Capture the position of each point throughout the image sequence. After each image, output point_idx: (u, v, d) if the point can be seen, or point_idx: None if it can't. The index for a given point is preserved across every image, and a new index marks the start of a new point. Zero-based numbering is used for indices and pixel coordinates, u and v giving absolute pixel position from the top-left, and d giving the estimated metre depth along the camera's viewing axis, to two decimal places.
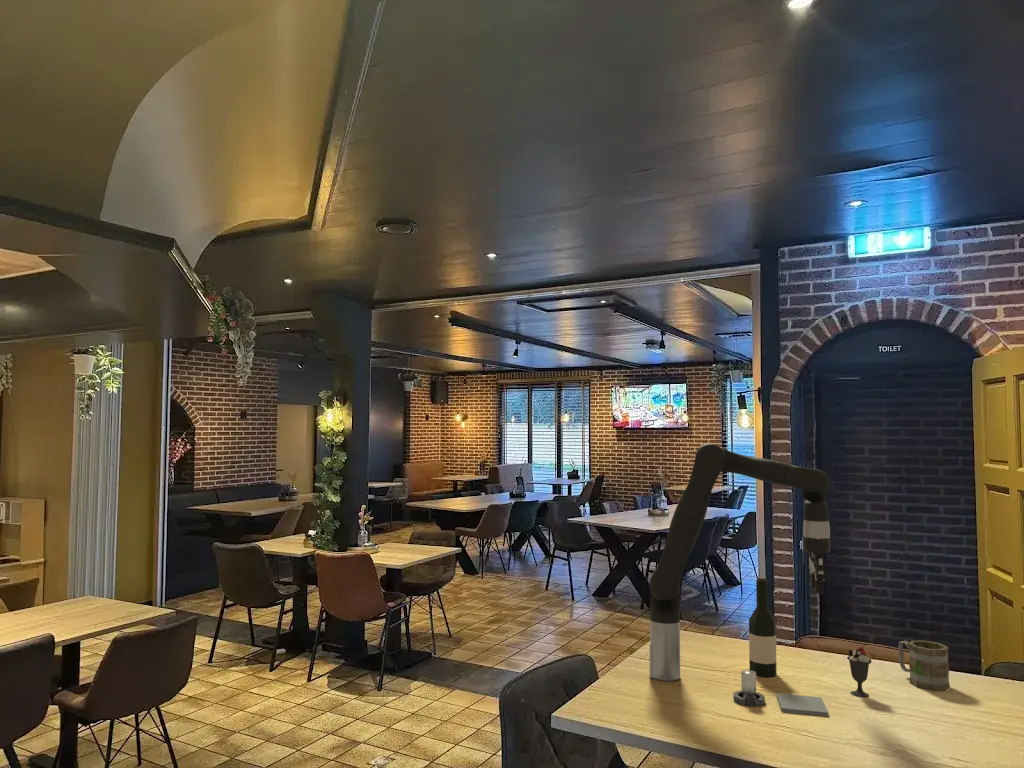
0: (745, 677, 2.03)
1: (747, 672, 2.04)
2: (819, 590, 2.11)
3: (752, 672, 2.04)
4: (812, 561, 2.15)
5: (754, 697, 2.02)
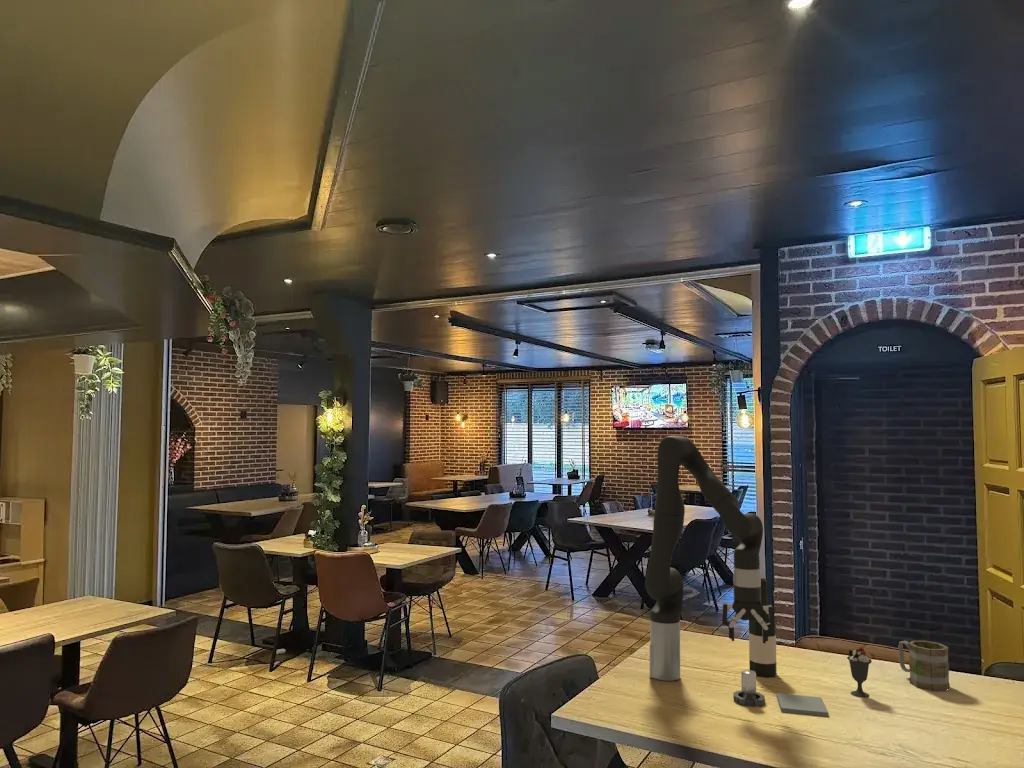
0: (745, 677, 2.03)
1: (747, 672, 2.04)
2: None
3: (752, 672, 2.04)
4: (756, 611, 2.04)
5: (754, 697, 2.02)
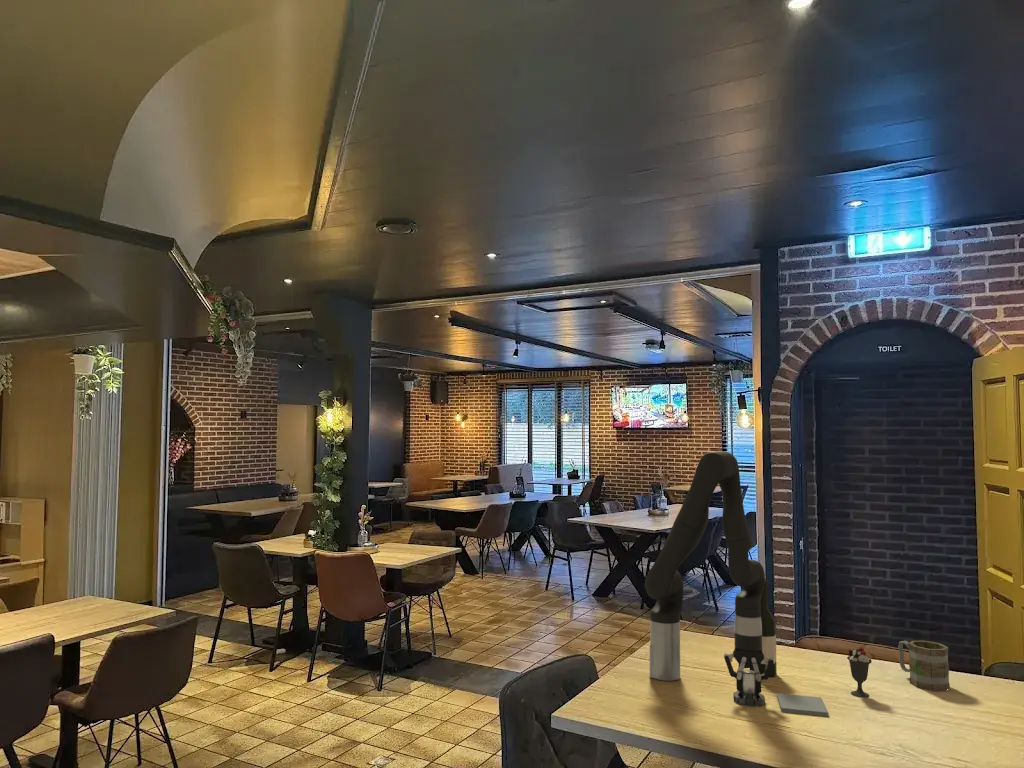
0: (745, 677, 2.03)
1: (747, 672, 2.04)
2: None
3: (752, 672, 2.04)
4: (756, 661, 2.03)
5: (754, 697, 2.02)
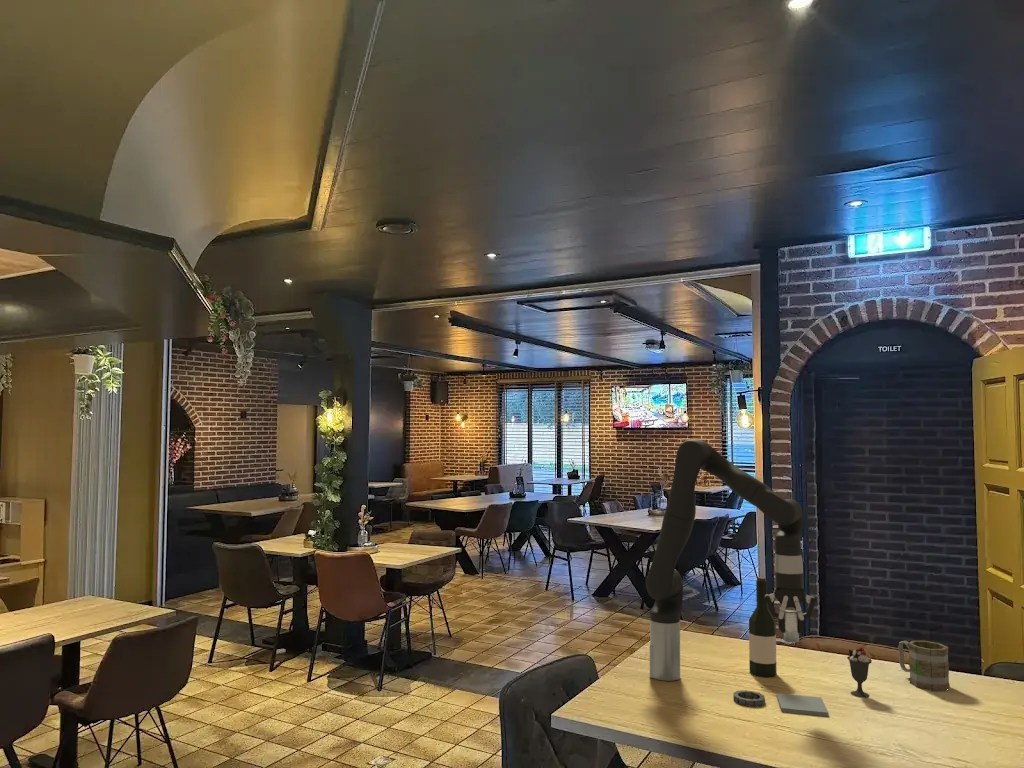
0: (787, 616, 2.01)
1: (789, 611, 2.02)
2: None
3: (794, 611, 2.02)
4: (798, 599, 2.01)
5: (797, 636, 2.00)
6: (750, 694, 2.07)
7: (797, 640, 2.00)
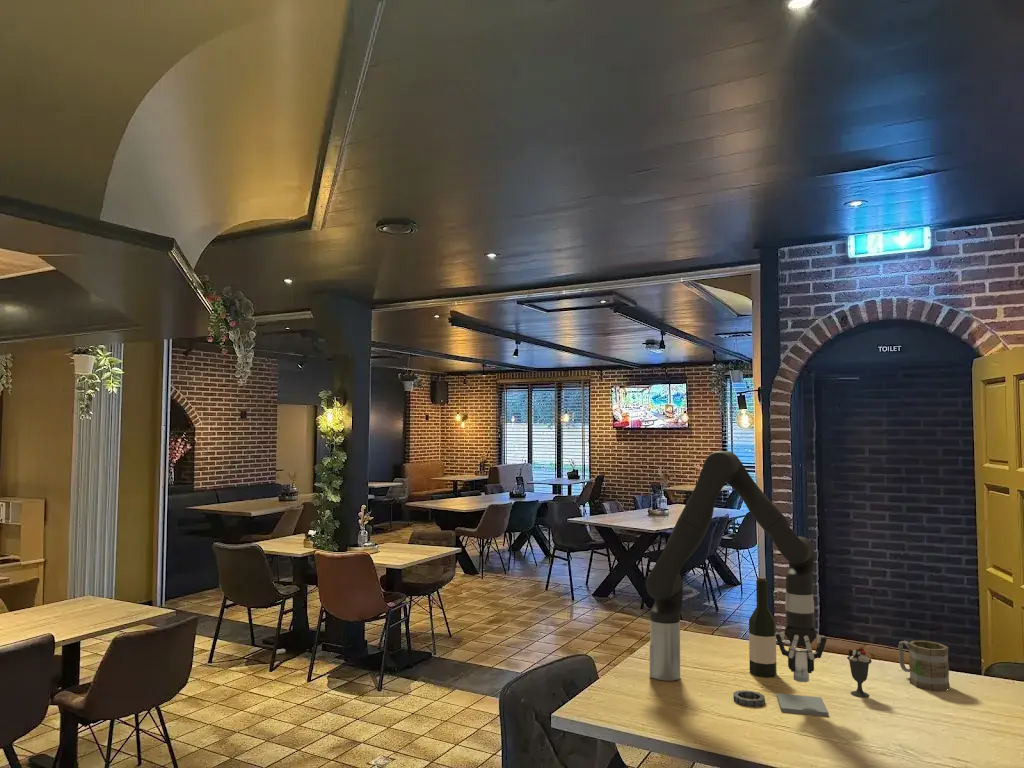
0: (798, 655, 2.00)
1: (799, 650, 2.01)
2: None
3: (804, 650, 2.01)
4: (808, 639, 2.00)
5: (807, 675, 1.99)
6: (750, 694, 2.07)
7: (807, 680, 1.99)
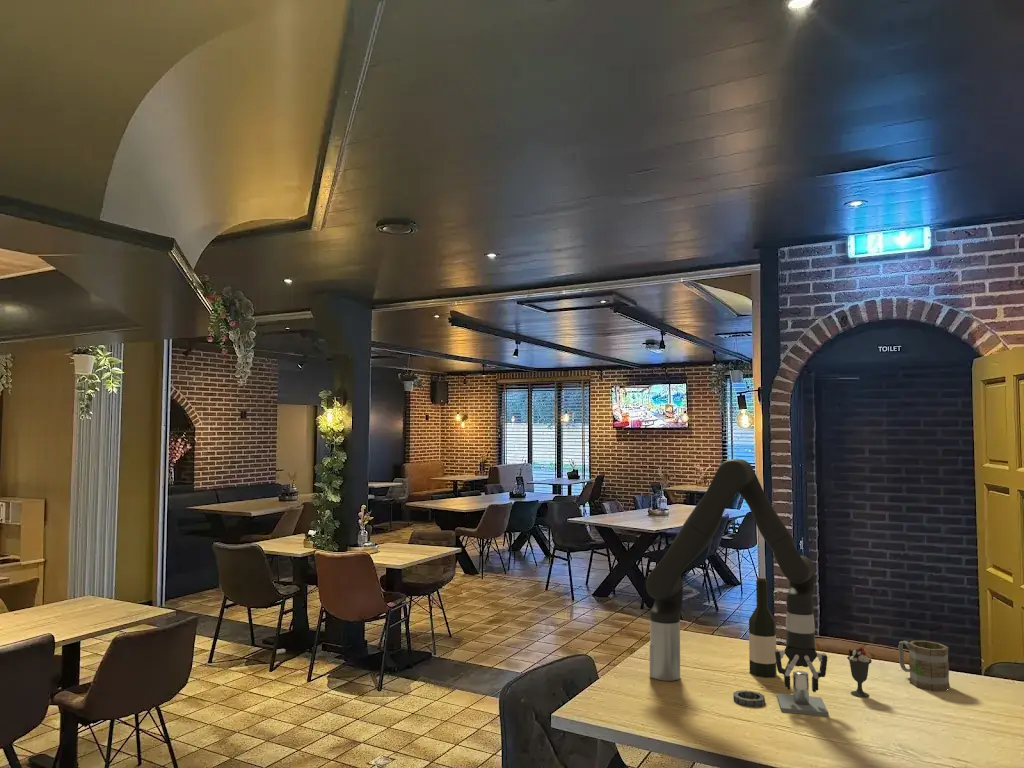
0: (798, 678, 2.00)
1: (799, 673, 2.01)
2: None
3: (804, 673, 2.01)
4: (809, 658, 1.99)
5: (807, 698, 1.99)
6: (750, 694, 2.07)
7: (807, 702, 1.99)
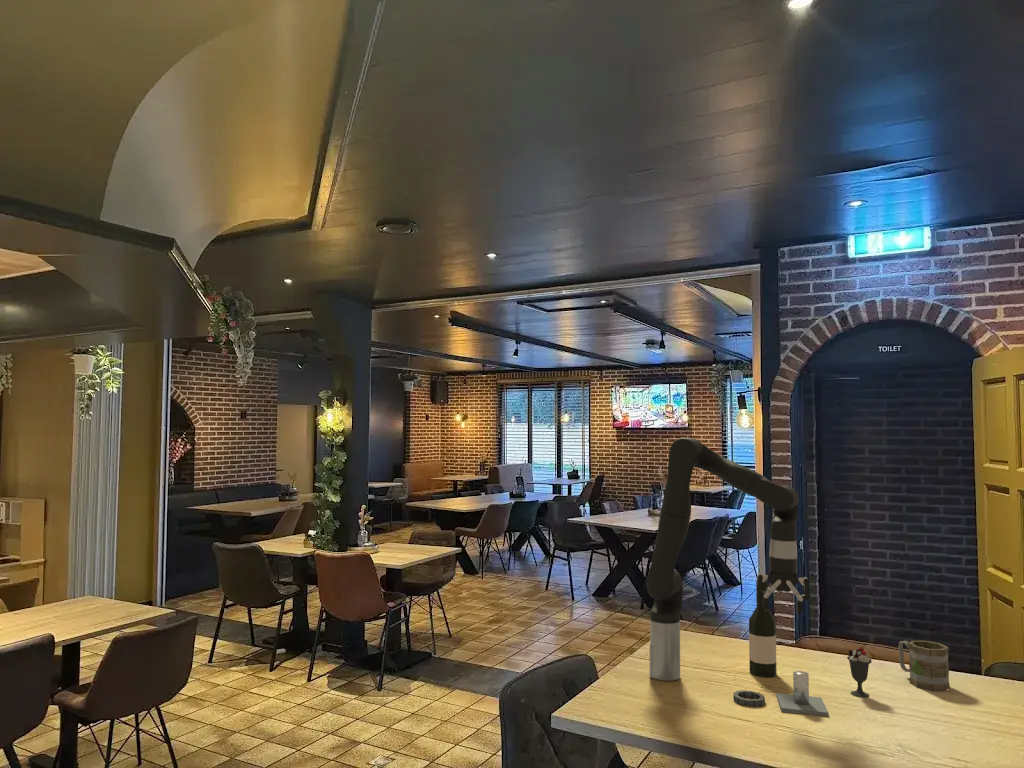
0: (798, 678, 2.00)
1: (800, 673, 2.01)
2: None
3: (804, 673, 2.01)
4: (791, 583, 2.05)
5: (807, 698, 1.99)
6: (750, 694, 2.07)
7: (807, 702, 1.99)
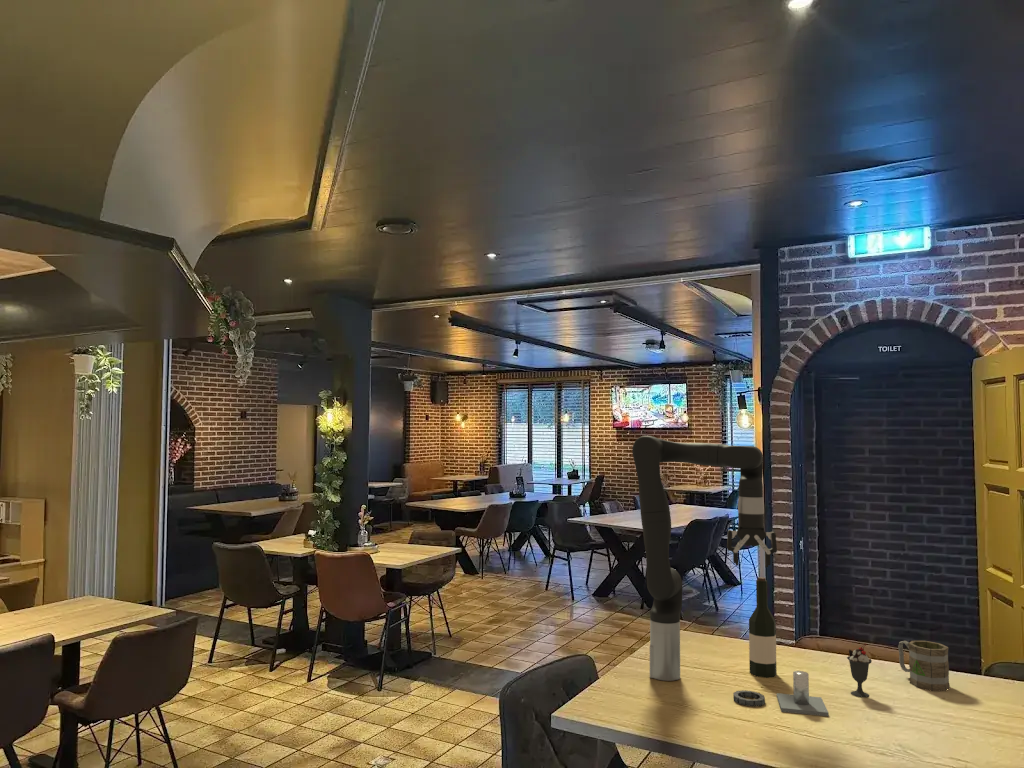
0: (798, 678, 2.00)
1: (800, 673, 2.01)
2: None
3: (804, 673, 2.01)
4: (759, 537, 2.16)
5: (807, 698, 1.99)
6: (750, 694, 2.07)
7: (807, 702, 1.99)
